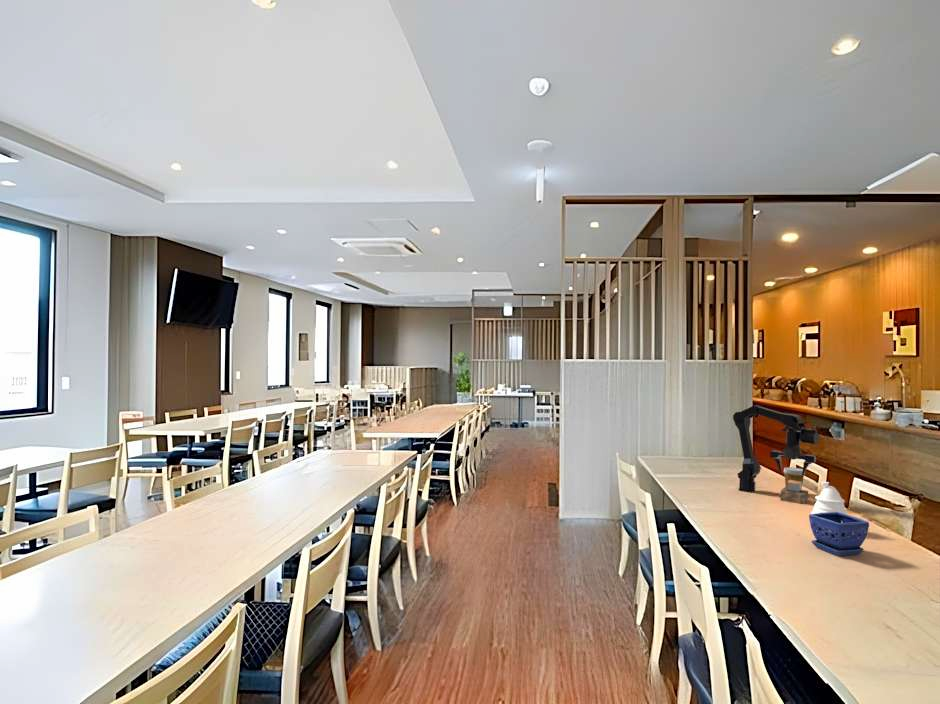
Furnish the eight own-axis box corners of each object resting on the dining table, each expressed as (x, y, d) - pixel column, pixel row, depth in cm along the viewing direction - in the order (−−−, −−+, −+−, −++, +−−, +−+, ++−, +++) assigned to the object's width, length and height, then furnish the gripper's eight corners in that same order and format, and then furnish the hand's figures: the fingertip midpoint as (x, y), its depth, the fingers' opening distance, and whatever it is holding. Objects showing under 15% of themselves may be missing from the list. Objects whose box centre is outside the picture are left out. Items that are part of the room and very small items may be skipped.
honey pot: (811, 529, 234) (812, 483, 234) (810, 521, 245) (811, 477, 245) (850, 535, 228) (851, 488, 228) (846, 526, 239) (848, 481, 239)
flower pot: (838, 559, 200) (839, 523, 200) (806, 546, 213) (807, 512, 213) (869, 556, 204) (870, 521, 204) (836, 543, 217) (837, 511, 217)
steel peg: (787, 500, 280) (787, 481, 280) (789, 498, 284) (789, 479, 284) (799, 502, 277) (799, 483, 277) (801, 500, 281) (801, 481, 281)
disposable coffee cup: (804, 493, 297) (805, 468, 297) (803, 496, 289) (804, 472, 289) (783, 490, 302) (784, 466, 302) (781, 493, 294) (782, 469, 294)
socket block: (780, 500, 280) (780, 490, 280) (784, 496, 288) (784, 487, 288) (804, 504, 274) (804, 494, 274) (808, 500, 282) (808, 490, 282)
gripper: (767, 440, 281) (766, 473, 281) (813, 446, 269) (811, 480, 269) (772, 438, 289) (771, 470, 290) (816, 443, 278) (815, 476, 278)
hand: (791, 474), depth 282 cm, fingers open, 9 cm apart
